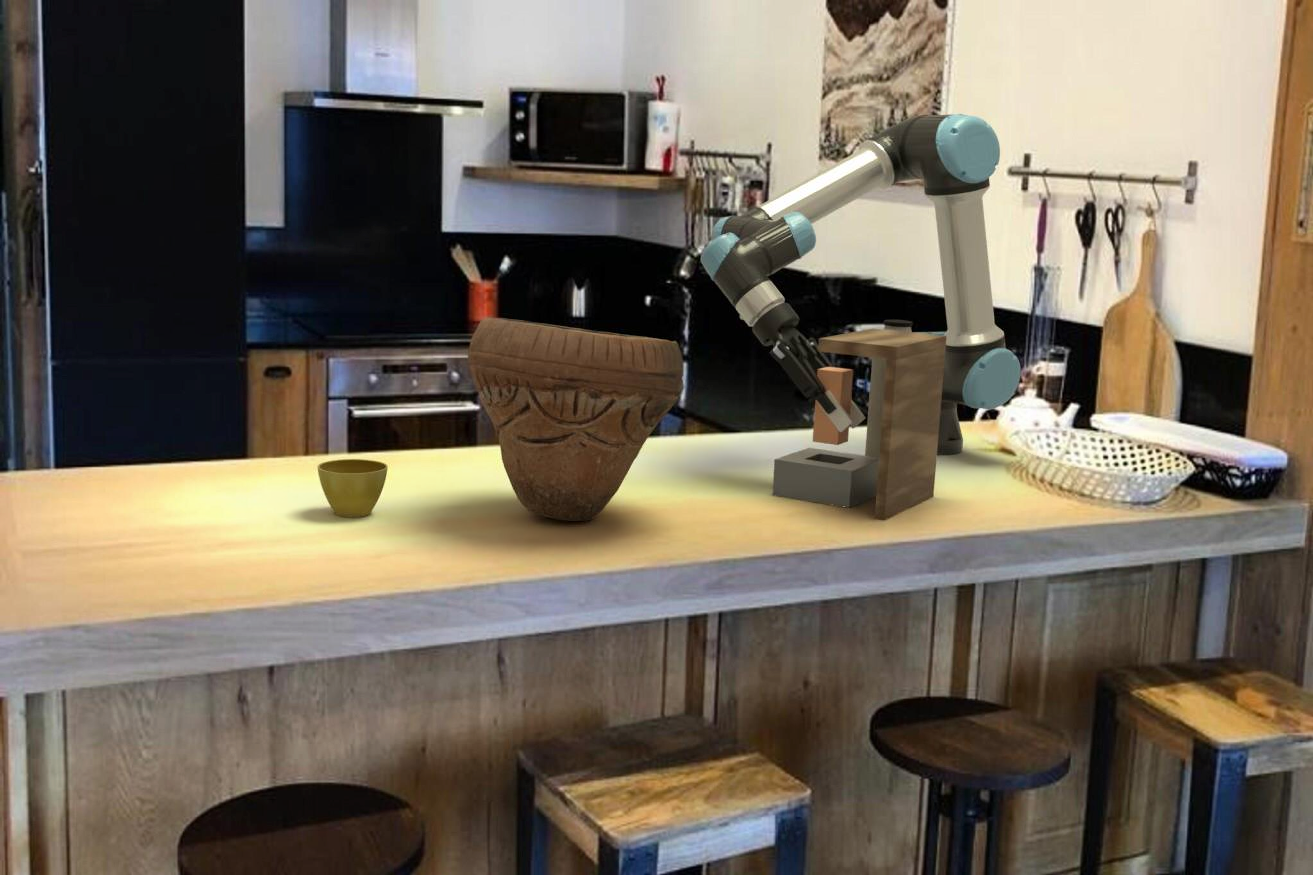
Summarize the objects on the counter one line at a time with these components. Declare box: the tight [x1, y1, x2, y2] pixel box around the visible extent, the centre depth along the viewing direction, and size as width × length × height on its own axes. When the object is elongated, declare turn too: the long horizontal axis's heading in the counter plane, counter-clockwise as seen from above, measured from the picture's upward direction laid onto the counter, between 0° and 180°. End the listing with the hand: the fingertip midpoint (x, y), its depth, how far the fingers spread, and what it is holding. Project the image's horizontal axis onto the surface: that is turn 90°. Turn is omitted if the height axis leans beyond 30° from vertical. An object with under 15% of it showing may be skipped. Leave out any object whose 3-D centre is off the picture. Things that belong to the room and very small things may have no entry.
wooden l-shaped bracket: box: [818, 328, 947, 521], centre depth 239 cm, size 13×22×27 cm, turn 150°
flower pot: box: [317, 458, 389, 518], centre depth 217 cm, size 10×10×7 cm
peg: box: [812, 366, 854, 446], centre depth 243 cm, size 4×4×12 cm
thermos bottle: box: [864, 319, 914, 458], centre depth 258 cm, size 8×8×28 cm
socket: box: [771, 447, 879, 508], centre depth 245 cm, size 14×14×6 cm
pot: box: [467, 316, 685, 522], centre depth 220 cm, size 32×32×30 cm
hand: (853, 424), depth 241 cm, fingers closed on peg, 4 cm apart
